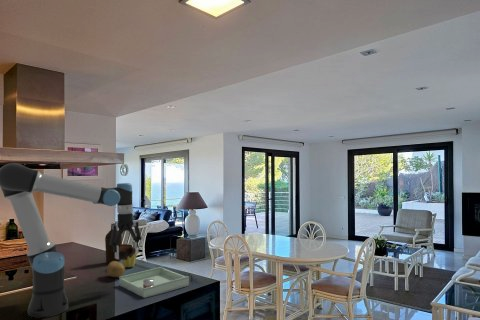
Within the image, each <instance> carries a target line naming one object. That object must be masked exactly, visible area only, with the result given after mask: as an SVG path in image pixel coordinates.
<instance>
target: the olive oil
mask: <svg viewBox="0 0 480 320" xmlns="http://www.w3.org/2000/svg"><path fill="white" fill-rule="evenodd" d="M112 225H117V223H114V222H113V223H110V230H109V231H108V233H106V235H105V237H104V243H105V263H108V264H109V263H110V262H112V261H117V262H119V263H120V262H121V261H122V260H121V259H120V260H116V258H115V252H113V246H112V245H109V242H110V237H111V232H112ZM118 230H119V229H118V228H117V229H116V235H117V233H118ZM116 235H115V238H116ZM122 236H123V235H121V237H120V239H119V242H118V244H117V246H118V245H121V244H123V243H122V242H123V237H122Z"/></svg>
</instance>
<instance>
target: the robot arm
mask: <svg viewBox="0 0 480 320" xmlns="http://www.w3.org/2000/svg"><path fill="white" fill-rule="evenodd" d="M0 188H1V192H2V193H3V196H4V198H5V199H7V200H8V201H10V204H11V206H12V208H13V211H14V213H15V214H14V215H15V217H16V219H17V222H18V224H19V227H20V230H21V232H22V234H23V235H22V236H23V237H24V240H25V242H26V245H27V248H28V252H27V253H26V256H27V259H28V261H29V265H30V267H31V271H32V296H31V298H30V301H29V305H28V307H27V312H26V313H27V314H28V315H29V316H31V317H30V318H32V317H35V318H34V319H44V318H43V317H45V318H51V317H55V316H57V315H60V314H61V313H64V312H66V311H67V310H68V309H69V299H68V297H67V294H66V292H65V291H66V290H65V264H66V260H65V255H64V254H63V253H61V252H58V248H57V246H56V243H55V242H52V241H51V240H50V238H49V236H48V233H47V230H46V227H45V225H44V222H43V219H42V217H41V213H40V210H39V209H38V208H39V207H38V205H37V203H36V200H35V197H34V195H33V193H35V192H37V193H38V192H39V193H45V194H49V195H55V196H60V197H65V198H70V199H74V200H79V201H85V202H89V203H90V202H91V203H92V204H95V205H96V204H97V205H105V206H108V207H114V206H116V207H117V209H116V211H117V214H116V215H117V223H116V225H112V232H111V237H110V242H109V245H112V246H113V252H115V258H116V259H119V246H117V244H118V242H119V239H120V237H121V235H122V234H123V233H124V232H128V233H129V234H130V236H131V238H132V240H133V241H132V247H134V248H135V250H136V251H135V255H137V256H138V248H139V243H140V241H141V240H142V235H141V232H140V227H139V221H134V216H133V215H134V213H133V211H134V210H133V185H132V183H131V182H121V183H117V184H116V187H101V186H99V185H93V184H88V183H84V182H79V181H75V180H71V179H67V178H62V177H57V176H54V175H53V176H52V175H48V174H44V173H41V171H40V170H37V169H32V168H29V167H27V166H25V165H24V164H23V165H22V164H21V163H16V162H15V163H14V162H12V163H6V164H5V165H3V166H1V167H0ZM133 228H134V229H133ZM116 229H117V230H118V233H117V235H116ZM115 235H116V238H115ZM122 236H123V235H122ZM28 315H27V316H28ZM29 316H28V317H29ZM41 317H42V318H41Z"/></svg>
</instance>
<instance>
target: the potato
mask: <svg viewBox="0 0 480 320" xmlns="http://www.w3.org/2000/svg"><path fill="white" fill-rule="evenodd" d="M106 268H107V269H106V272H107V275H108V276H109V277H112V278H119V277H120V276H124V274H125V271H126V267H124V265H123V263H121V262H120V261H119V262H117V261H112V262H110V263H108V265H107V267H106Z"/></svg>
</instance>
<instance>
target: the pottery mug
mask: <svg viewBox="0 0 480 320" xmlns="http://www.w3.org/2000/svg"><path fill="white" fill-rule="evenodd" d="M118 246H119V259H116V260H120V259H121V261H122V260H127V258H128V256H129V258H131V257H132V256H133V255H134V254H135V251H136V250H135V248H134V247H133V244H129V243H128V244H127V243H122V244H121V245H118Z"/></svg>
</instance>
